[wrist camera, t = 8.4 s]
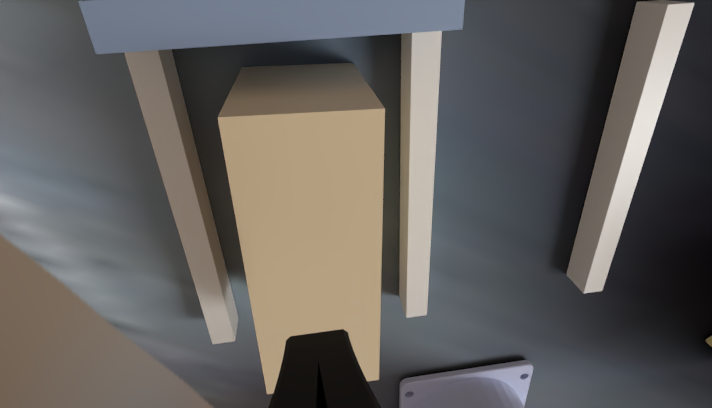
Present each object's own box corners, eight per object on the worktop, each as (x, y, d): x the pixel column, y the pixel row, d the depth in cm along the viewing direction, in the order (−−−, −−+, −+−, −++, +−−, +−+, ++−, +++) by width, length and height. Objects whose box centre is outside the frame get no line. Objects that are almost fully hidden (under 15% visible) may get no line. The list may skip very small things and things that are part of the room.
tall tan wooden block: (356, 275, 20) (379, 379, 15) (272, 283, 20) (266, 394, 15) (352, 62, 15) (384, 108, 10) (242, 66, 15) (217, 117, 10)
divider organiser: (584, 272, 22) (638, 328, 19) (217, 320, 20) (202, 392, 17) (671, -37, 15) (784, -39, 12) (124, -7, 13) (66, 1, 10)
